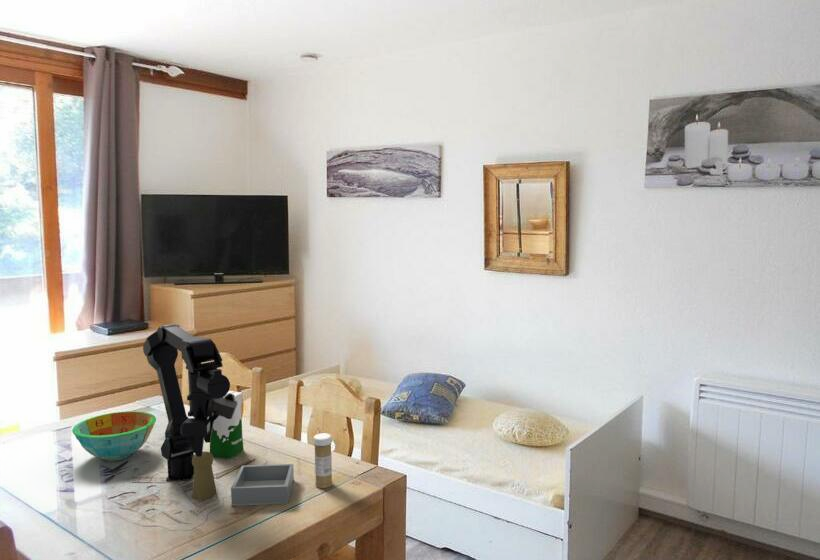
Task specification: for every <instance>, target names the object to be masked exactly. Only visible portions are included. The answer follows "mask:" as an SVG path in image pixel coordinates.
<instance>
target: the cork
mask: <svg viewBox="0 0 820 560" xmlns="http://www.w3.org/2000/svg"><path fill="white" fill-rule="evenodd" d="M213 463H214V457H213V455H212V454H211V453H210V451H203V452H202V456H201V457H197V456H196V454H195V453H194V456H193V457H192V464H193V466H194V467H195V468H194V475H193V481H192V492H191V494H192V495H191V498H192V499H193V500H195V501H206V500H211V499H212V498H214V497H216V495H217V488H216V486H217V485H216V482H215V481H216V480H215V477H214V471H213Z"/></svg>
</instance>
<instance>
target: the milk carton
mask: <svg viewBox="0 0 820 560" xmlns="http://www.w3.org/2000/svg"><path fill="white" fill-rule="evenodd" d="M229 393H230V394H233V395H234V397H235V401H237V407H236V409H235V412H234V415H233V417H232V419H227V418H225V417H223V416H218V418H217V419H216V420H215V421H214V424H213V429H212V434H211V439H210V442H209V452H210V453H211V454H212V455H213V458H219V457H220V458H221V459H226V460H231V459H232V458H234V457H235V456H237V455H238V454H240V453H241V452H243V451H245V449H244V439H243V422H242V421H243V417H242V404H243V392H240V391H236V390H229V391H228V393H227V394H226V395H228V394H229ZM226 395H225V396H226ZM225 396H224V397H225ZM224 397H223V398H224Z"/></svg>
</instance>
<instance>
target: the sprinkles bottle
mask: <svg viewBox="0 0 820 560" xmlns="http://www.w3.org/2000/svg"><path fill="white" fill-rule="evenodd" d="M313 445H314V475H315V482H314V483H315V487H317V488H319V489H326V488H327V489H328V488H329V487H331V486H332V485H333V476H332V475H333V465H332V464H333V463H332V462H333V459H332V458H333V457H332V455H333V454H332V435H331V434H330V433H327V432H326V433H325V432H324V433H317V434H315V435H314V436H313Z"/></svg>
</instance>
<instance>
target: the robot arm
mask: <svg viewBox="0 0 820 560" xmlns="http://www.w3.org/2000/svg"><path fill="white" fill-rule="evenodd" d="M142 349H143V354H144V356H145V357H146V360H147V362H148V365H150V366H151V367H152V368H153V369H154V370H155V371H156V374H157V378H158V382H159V387H160V391H161V395H162V400H163V403H164V408H165V413H166V417H167V421H168V424H167V426H166V428H165V432H164V437H165V439H164V441H163V442H162V445H161V447H160V452H161V456H162V457H163V458H164V459H165V460H166V461H167V464H166V465H167V477H166V479H165V480H166V481H168V482H169V481H170V482H171V481H174V482H176V481H191V480H192V478H194V468H195V467H194V466H193V464H192V457H193V456H194V455H195V454H196V456H197V457H201V456H202V452H204V451H203V450H204V444H206V443H207V444H208V443H209V444H210V439H211V434H212V429H213V424H214V421H215V420H216V419H217V418H218V416H223V417H225V418H227V419H232V417H233V415H234V412H235V409H236V407H237V401H235V397H234V395H233V394H230V393H229V394H228V395H226V394H227V393H228V391H230V389H231V382H230V380H229V378H228V377H227V376H226V375H224V374H223V370H222V369H221V368H223V367H224V366H223V358H222V355H221V353H220V351H219V349H218V347H217V345H216V343H215V342H214V340H212V339H211V338H210V337H209V338H208V337H204V336H203V337H201V336H199V337H197V336H194V335H193V334H191V333H190V332H187V330H184V329H183V328H181V327H180V325H179V324H176V323H171V324H166V325H165V324H164V325H161V326H159V327H157V330H156V331H155V332H153V333H152V334H150V335H149V336H147V338H146V339H145V341H144V343H143V346H142ZM178 351H179V352H181V359H182V360H183V362H184V364H185V365H186V366H185V369H186V370H187V378H188V381H187V382H188V395H187V396H186V398H187V399H186V401H189V411H188V412H186V408H185V404H184V400H183V396H182V395H183V394H182V391H181V388H180V383H179V379H178V373H177V371H176V370H177V369H176V366H175V364H176V361H177V359H178V355H179V352H178ZM225 395H226V396H225ZM224 396H225V397H224ZM223 397H224V398H223ZM189 417H190V418H189ZM191 417H193V418H191Z"/></svg>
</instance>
